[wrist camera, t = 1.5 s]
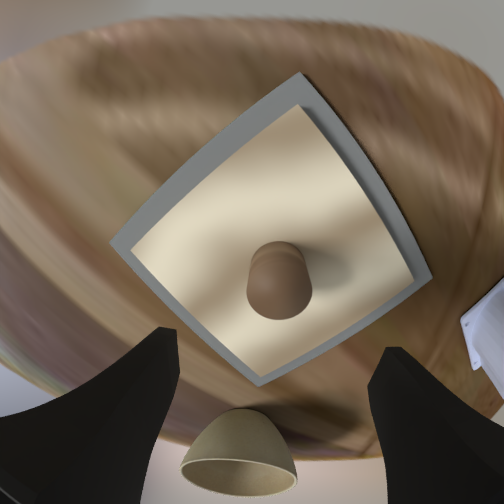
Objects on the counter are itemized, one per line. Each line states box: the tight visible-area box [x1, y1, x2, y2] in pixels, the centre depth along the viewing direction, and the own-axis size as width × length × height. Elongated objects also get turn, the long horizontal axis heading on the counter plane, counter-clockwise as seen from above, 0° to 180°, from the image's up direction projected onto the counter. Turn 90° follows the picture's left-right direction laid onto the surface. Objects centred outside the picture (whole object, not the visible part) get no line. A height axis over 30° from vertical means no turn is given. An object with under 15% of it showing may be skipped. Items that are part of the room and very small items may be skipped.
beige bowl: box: [179, 409, 297, 498], centre depth 20 cm, size 10×10×7 cm
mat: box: [109, 72, 433, 387], centre depth 17 cm, size 16×16×1 cm
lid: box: [131, 104, 414, 377], centre depth 15 cm, size 13×13×4 cm
